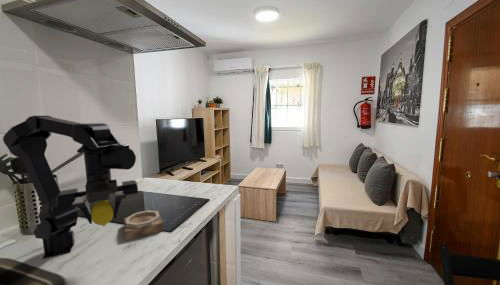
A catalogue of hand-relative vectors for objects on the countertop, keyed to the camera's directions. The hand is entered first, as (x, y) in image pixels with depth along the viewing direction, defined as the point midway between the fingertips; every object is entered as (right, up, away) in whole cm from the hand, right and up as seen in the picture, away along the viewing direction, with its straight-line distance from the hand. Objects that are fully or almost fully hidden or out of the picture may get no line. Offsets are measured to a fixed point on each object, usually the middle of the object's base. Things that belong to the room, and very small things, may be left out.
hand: (103, 220), depth 63 cm
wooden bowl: (+3, -9, +18) cm, 20 cm away
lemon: (0, -2, 0) cm, 2 cm away
